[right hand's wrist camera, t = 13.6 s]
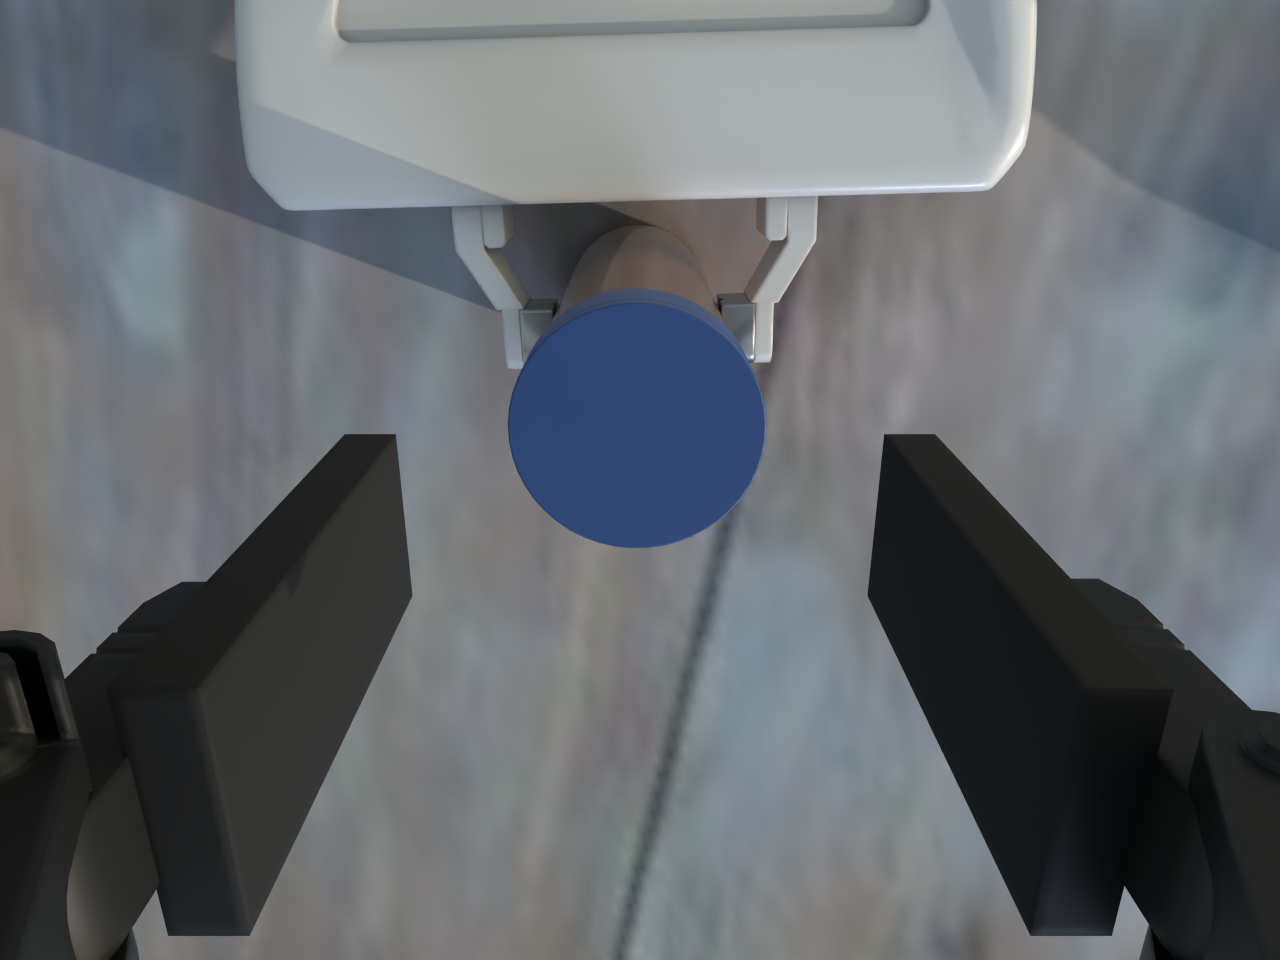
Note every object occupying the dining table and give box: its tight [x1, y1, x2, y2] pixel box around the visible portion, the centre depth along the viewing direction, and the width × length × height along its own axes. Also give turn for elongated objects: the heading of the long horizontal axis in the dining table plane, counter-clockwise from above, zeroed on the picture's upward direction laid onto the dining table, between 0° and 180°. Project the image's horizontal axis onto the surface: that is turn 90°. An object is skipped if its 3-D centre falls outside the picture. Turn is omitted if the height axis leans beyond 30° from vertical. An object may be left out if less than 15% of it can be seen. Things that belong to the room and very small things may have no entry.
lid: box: [508, 289, 766, 548], centre depth 19 cm, size 5×5×2 cm
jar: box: [551, 225, 725, 325], centre depth 26 cm, size 5×5×15 cm
